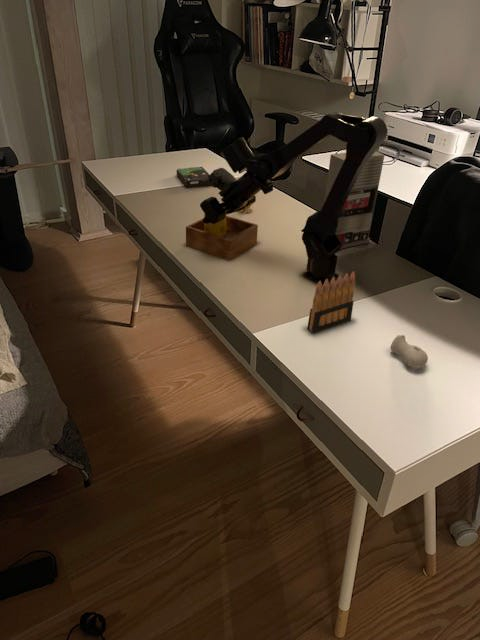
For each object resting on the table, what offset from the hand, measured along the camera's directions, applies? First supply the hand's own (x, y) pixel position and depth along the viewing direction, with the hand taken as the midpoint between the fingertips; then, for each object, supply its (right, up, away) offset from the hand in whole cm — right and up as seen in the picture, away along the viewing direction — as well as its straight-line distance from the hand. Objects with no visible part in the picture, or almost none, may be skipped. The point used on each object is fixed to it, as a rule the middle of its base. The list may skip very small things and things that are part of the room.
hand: (211, 218), depth 138 cm
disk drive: (-9, +23, +47) cm, 53 cm away
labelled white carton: (+38, -6, +6) cm, 39 cm away
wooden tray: (+3, -7, +2) cm, 8 cm away
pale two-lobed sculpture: (+41, -36, -39) cm, 67 cm away
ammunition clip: (+27, -29, -30) cm, 50 cm away
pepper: (+1, -4, +2) cm, 4 cm away
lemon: (+9, +7, +24) cm, 26 cm away
